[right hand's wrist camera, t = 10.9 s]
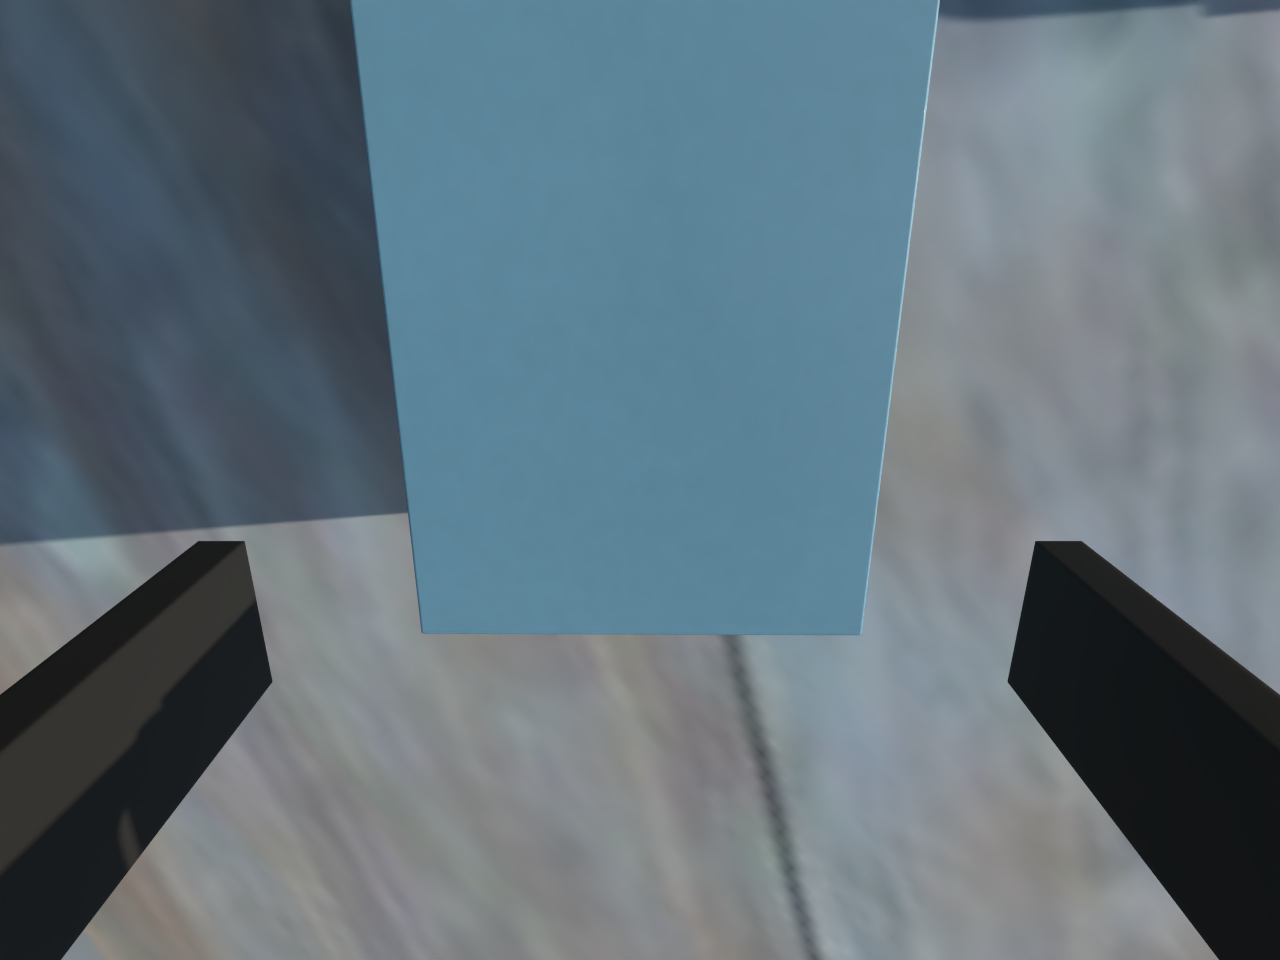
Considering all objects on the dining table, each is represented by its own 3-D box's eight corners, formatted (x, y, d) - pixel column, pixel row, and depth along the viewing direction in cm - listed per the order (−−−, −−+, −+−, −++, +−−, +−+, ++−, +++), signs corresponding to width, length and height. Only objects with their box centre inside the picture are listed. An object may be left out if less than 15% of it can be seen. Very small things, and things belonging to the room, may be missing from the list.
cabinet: (445, -264, 20) (270, -669, 10) (843, -263, 20) (1024, -667, 10) (495, 483, 27) (420, 635, 18) (786, 484, 27) (862, 636, 18)
